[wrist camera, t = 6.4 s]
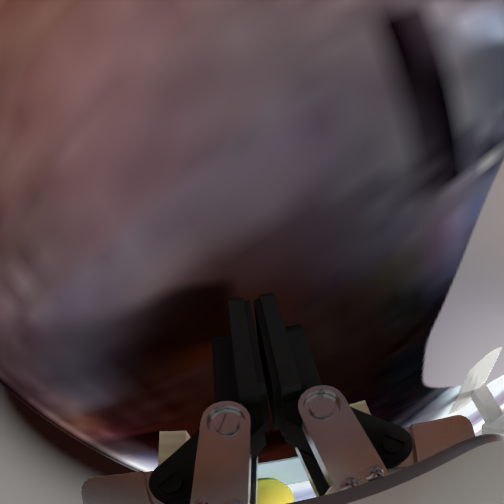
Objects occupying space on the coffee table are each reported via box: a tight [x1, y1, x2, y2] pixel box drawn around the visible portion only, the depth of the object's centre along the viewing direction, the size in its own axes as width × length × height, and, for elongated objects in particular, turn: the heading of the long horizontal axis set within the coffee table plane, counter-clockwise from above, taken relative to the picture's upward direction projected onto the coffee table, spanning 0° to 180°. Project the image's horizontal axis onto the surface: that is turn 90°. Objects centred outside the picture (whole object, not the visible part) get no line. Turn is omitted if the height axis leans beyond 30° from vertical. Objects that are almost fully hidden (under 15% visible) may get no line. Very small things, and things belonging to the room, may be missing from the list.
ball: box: [257, 479, 294, 504], centre depth 24 cm, size 6×6×6 cm
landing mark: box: [258, 456, 309, 485], centre depth 26 cm, size 12×12×1 cm
